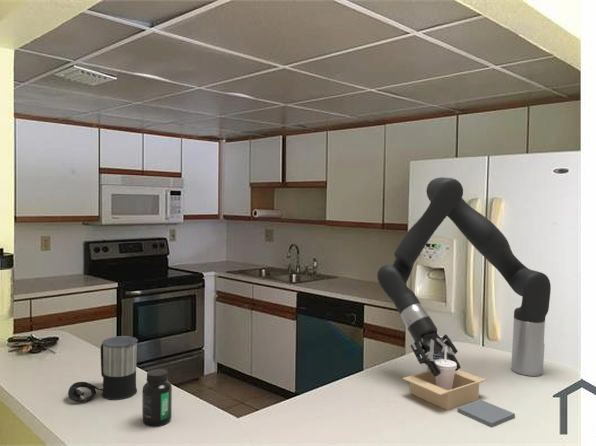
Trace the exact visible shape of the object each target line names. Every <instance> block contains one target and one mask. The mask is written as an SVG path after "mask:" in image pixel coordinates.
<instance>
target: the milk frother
mask: <svg viewBox="0 0 596 446" xmlns="http://www.w3.org/2000/svg"><path fill="white" fill-rule="evenodd" d="M138 341H139V339H138V338H136V337H133V336H130V335H128V336H127V335H119V336H112V337H108V338H106V339H103V340H102V342H101V345H100V370H101V371H100V372H101V377H102V379H103V380H102V388H99V387H97V386H95V385H94V384H92V383H90V382H89V383H88V382H86V381H77V382H75V383H73V384H71V386H70V387H69V388H68V391H67V395H68V398H69V399H70V400H72V401H73V402H75V403H86V402H87V403H88V402H89V401H92V400H94V398H95V397H96V395H97V390H99V391H101V396H102V397H103V398H104V399H108V400H125V399H128V398H131V397H133V396H134V395H136V394H137V392H138V388H137V355H138V354H137V353H138V351H137V350H138V349H137V348H138V346H137V344H138ZM79 388H86V389H88V390H89V391H90V392H91V393H90V395H88V396H86V397H84V396H85V391H84V392H83V391H82V390H80V389H79Z"/></svg>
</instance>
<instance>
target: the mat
mask: <svg viewBox="0 0 596 446" xmlns="http://www.w3.org/2000/svg"><path fill="white" fill-rule="evenodd" d="M456 410H457V412H458V413H459V414H461V415H464V416H467V417H468V418H470V419H472V420H475V421H477V422H479V423H482V424H483V425H486V426H488V427H490V428H492V427H495V426H498V425H500V424H502V423H505V422H507V421H511V420H512V419H514V418H516V413H514V412H512V411H509V410H507V409H505V408H501V407H500V406H497V405H494V404H493V403H490V402H487V401H485V400H483V399H480V400H479V399H478V400H476V401H473V402H470V403H467V404H464V405H461V406H459V407H457V409H456Z"/></svg>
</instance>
